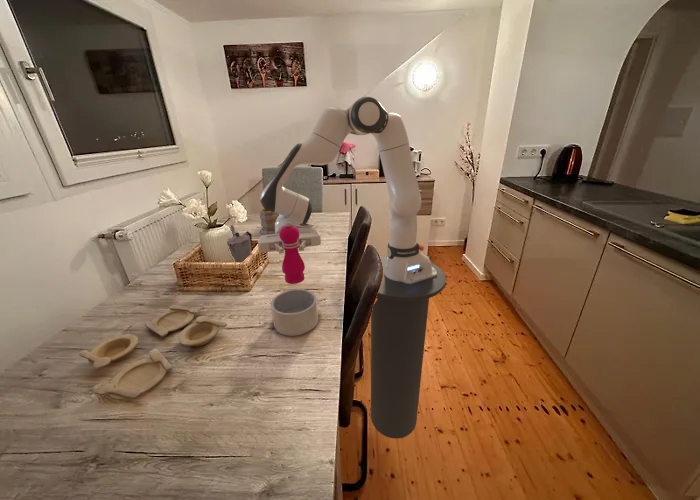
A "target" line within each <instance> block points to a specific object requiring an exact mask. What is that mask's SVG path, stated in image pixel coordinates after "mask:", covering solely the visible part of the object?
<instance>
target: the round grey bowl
mask: <svg viewBox="0 0 700 500" xmlns="http://www.w3.org/2000/svg"><path fill="white" fill-rule="evenodd" d="M270 310H271V315H272V321H273V326H274V329H275V331H277V332H278V334H281V335H284V336H289V337H290V336H293V337H295V336H300V335H303V334H306V333H308V332H310V331H311V330H313V329H314V328H315V327H316V326H317V324H318V323H319V310H318V298H317V295H316V294H315V293H314V292H313V291H310V290H309V289H303V288H294V289H288V290H284V291H282V292H280V293H278V294H277V295H276V296H274V297H273V298H272V300H271V302H270Z"/></svg>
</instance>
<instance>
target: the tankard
mask: <svg viewBox="0 0 700 500" xmlns="http://www.w3.org/2000/svg"><path fill="white" fill-rule="evenodd" d="M279 215H280V214H278V213H275V212H271V211H267V210H265V209H264V208H262V209H261V208H260V210H259V219H260V220H261V221H260V227H261V228H260V233H261V234H263V235H269V234H275V222H276V219H277V217H278V216H279Z"/></svg>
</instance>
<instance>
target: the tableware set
mask: <svg viewBox="0 0 700 500" xmlns="http://www.w3.org/2000/svg"><path fill="white" fill-rule="evenodd" d="M201 310H203V307H202V306H194V307H193V306H192V307H187V306H180V305H175V304H173V305H170V306H169V309H168V310H165V311H163V312H161V313H159V314H158V315H157V316H155V317H154V318H153V319H152V320H151V321H145V322H144V326H145V327H147V328H148V329H149V330H150V332H152V333H154V334H156V335H158V336H160V337H161V338H164V337H166V336H167V335H168V334H169V333H171V332H175V331H178V330H180V329H182V328H184V327H185V326H186V327H185V328H184V329H183V330H181V332H180V333H179V335H178V337H177V340H178V342H179V344H180V345H183V346H185V347H201V346H204V345H207V344H208V343H209V342H210V341H212V339H214V337H215V336H216V335H217V334H218V333H219V332H220V328H226V327H227V326H228V323H227V322H226V321H221V320H215V319H210V317H209V316H208V315H206V314H205V315H200V316H197V318H196V319H195V321H196V322H193V323H191V322H192V321H193V319H194V318H195V314H197V313H199V312H200V311H201ZM190 323H191V324H190ZM188 324H189V325H188ZM187 325H188V326H187ZM138 344H139V337H138V336H137V335H135V334H132V333H131V334H130V333H127V334H126V333H125V334H121V335H116V336H114V337H111V338H108V339H107V340H105V341H102V342H101V343H100V344H98V345H96V346H95V347H94V348H92V349H91V351H88V350H85V349H83V350H80V351H79V352H78V355H79V357H82V358H84V359H86V360H87V361H88V363H90V365H91V364H92V365H93V367H94V368H96V369H100V368H104V367H106V366H108V365H113V364H116V363H118V362H120V361H122V360H124V359H126V358H127V357H128V356H129V355H130V354H131V352H132V351H133V350H134V349H135V348H136V347H137V346H138ZM148 356H149V357H147V358H143V359H140V360H137V361H135V362H132V363H131V364H129V365H126V366H125V367H124V368H123V369H121V370H120V371H118V372H117V373H116V374H115V375H114V376H113V377H112V378H111V380H110V382H109V383H108V382H103V383H102V384H101V386H98V387H97V389H95V390H93V392H92V393H93V394H95V395H101V396H105V395H108V396H109V397H110V398H112V399H114V400H128V399H132V400H135V399H138V398H139V397H140V396H141V395H142V394H145V393H146V392H148V391H151V390H152V389H153V388H154V387H156V386H157V385H158V384H159V383H160V382H162V380H163V379H164V378H165V376H166V374H167V373H168V372H169V371H170V370H172V369H173V366H172V364H171V362H169V360H167V358H166V357H165V356H164V355H163V354H162V353H161V352H160V350H159V349H158V348H157V347H156V348H153V349H151V350H150V351H149V352H148Z"/></svg>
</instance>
